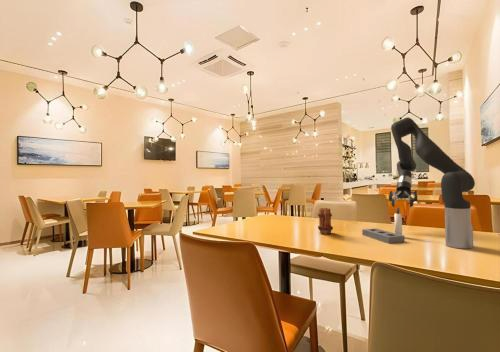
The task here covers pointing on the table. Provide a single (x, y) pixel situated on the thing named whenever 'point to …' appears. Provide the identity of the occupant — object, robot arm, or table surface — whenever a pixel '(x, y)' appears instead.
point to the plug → (398, 222)
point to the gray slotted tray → (383, 235)
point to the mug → (325, 221)
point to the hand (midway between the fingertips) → (401, 206)
